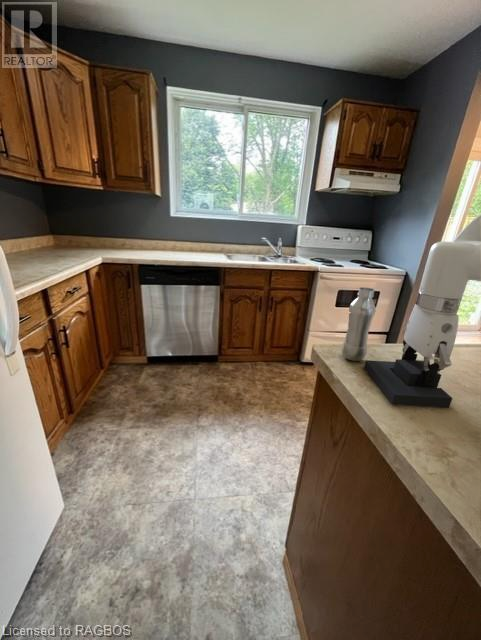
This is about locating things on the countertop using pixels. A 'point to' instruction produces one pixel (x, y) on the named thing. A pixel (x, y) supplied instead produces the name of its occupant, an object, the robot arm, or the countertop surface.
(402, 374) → the black pad
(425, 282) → the robot arm
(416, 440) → the countertop surface
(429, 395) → the notched tile
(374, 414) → the countertop surface
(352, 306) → the plastic bottle
